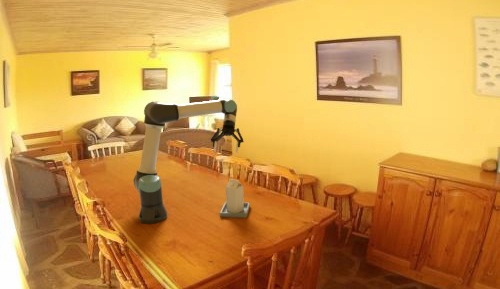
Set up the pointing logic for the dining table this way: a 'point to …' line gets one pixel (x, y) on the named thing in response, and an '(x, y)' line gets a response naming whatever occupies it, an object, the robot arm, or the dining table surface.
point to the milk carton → (234, 196)
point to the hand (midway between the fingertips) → (225, 151)
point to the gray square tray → (237, 215)
